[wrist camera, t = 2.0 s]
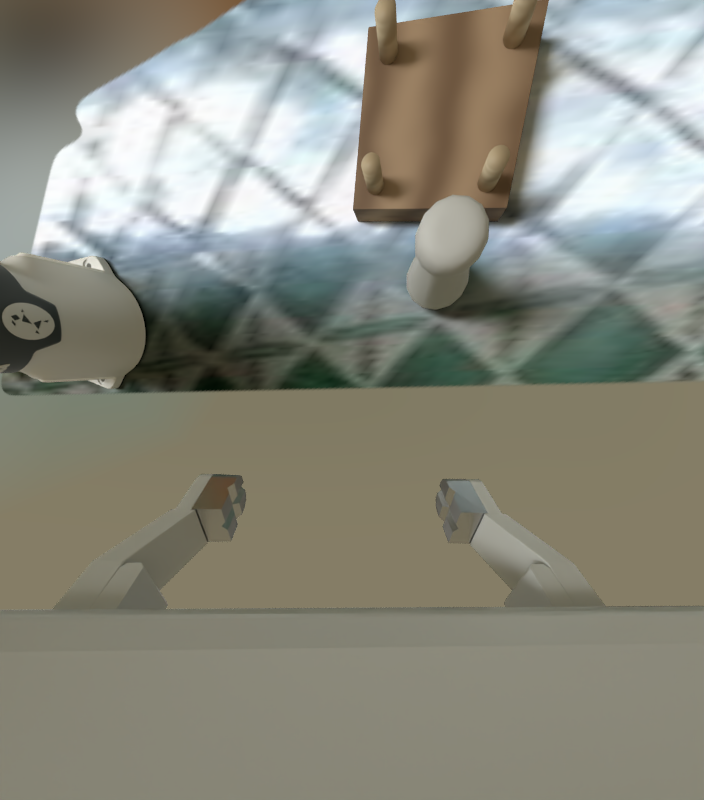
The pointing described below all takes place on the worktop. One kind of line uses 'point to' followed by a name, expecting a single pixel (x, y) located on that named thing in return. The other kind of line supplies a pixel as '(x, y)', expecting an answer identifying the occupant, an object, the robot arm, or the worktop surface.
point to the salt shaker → (446, 250)
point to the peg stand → (444, 108)
